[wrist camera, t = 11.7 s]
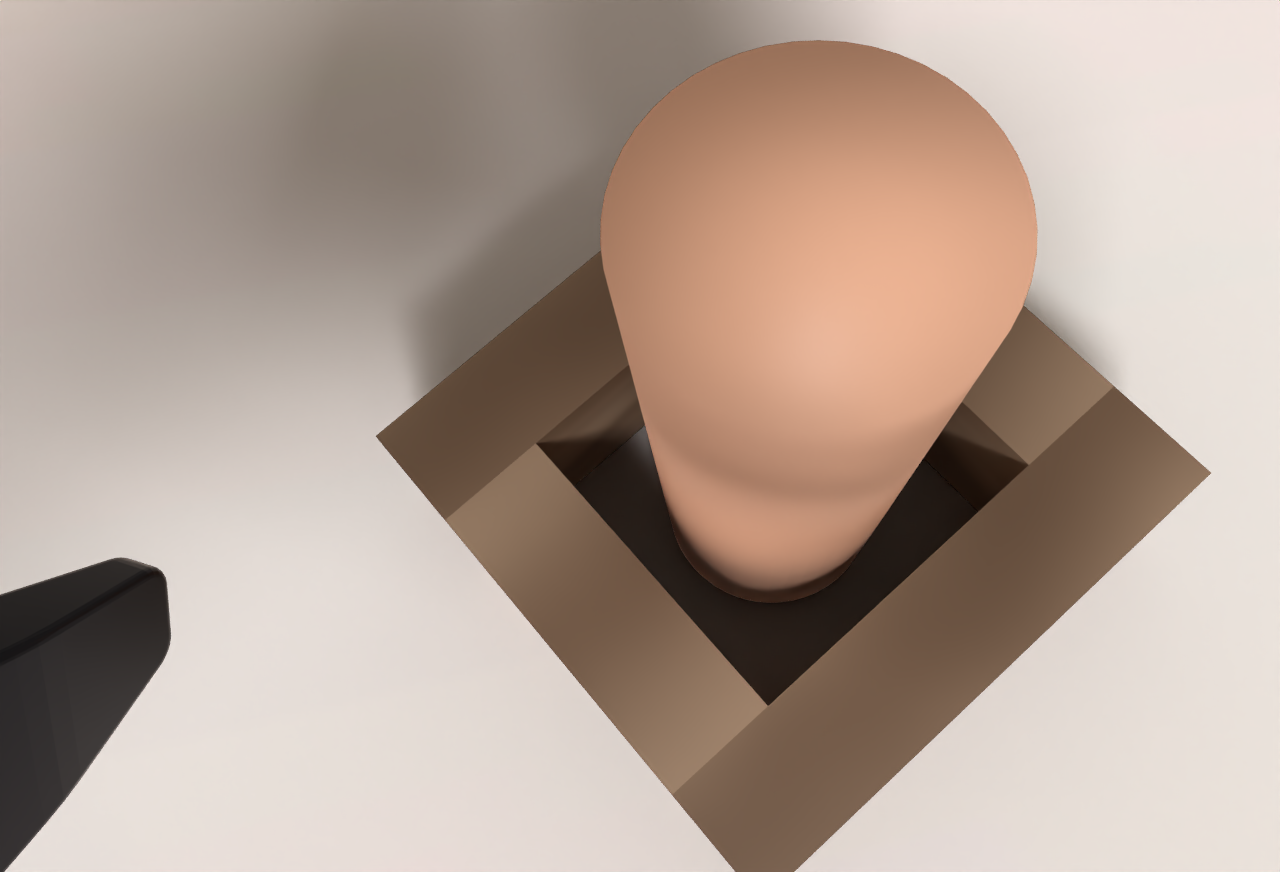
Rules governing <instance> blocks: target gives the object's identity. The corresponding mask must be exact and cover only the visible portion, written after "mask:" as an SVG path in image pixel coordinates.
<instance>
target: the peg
mask: <svg viewBox="0 0 1280 872" xmlns="http://www.w3.org/2000/svg"><path fill="white" fill-rule="evenodd" d="M600 246H601V254H602V262H603V269H604V273H605V277H606V280H607V284H608V288H609V292H610V295H611V299H612V303H613V307H614V310H615V314H616V318H617V322H618V325H619V329H620V333H621V337H622V340H623V344H624V348H625V352H626V355H627V359H628V363H629V367H630V370H631V374H632V378H633V382H634V385H635V389H636V393H637V397H638V400H639V404H640V408H641V412H642V415H643V419H644V423H645V427H646V430H647V434H648V438H649V442H650V445H651V449H652V453H653V456H654V460H655V464H656V468H657V471H658V475H659V479H660V483H661V486H662V490H663V494H664V498H665V501H666V505H667V509H668V513H669V516H670V520H671V524H672V527H673V531H674V535H675V537H676V540H677V542H678V544H679V547H680V548H681V550H682V552H683V554H684V555H685V557H686V559H687V560H688V561H689V562H690V564H691V565H692V566H693V567H694V569H695V570H696V571H697V572H698V573H699V574H700V575H701V576H703V577H704V578H705V579H706V580H707V581H709V582H710V583H711V584H713V585H714V586H716V587H717V588H719V589H721V590H723V591H724V592H726V593H729V594H731V595H734V596H736V597H739V598H742V599H746V600H750V601H756V602H764V603H780V602H787V601H794V600H797V599H801V598H804V597H807V596H809V595H812V594H814V593H816V592H819V591H820V590H822V589H824V588H825V587H827V586H829V585H830V584H831V583H833V582H834V581H835V580H836V579H838V578H839V577H840V576H841V575H842V574H843V573H844V572H845V571H846V570H847V569H848V568H849V566H850V565H851V563H852V562H853V561H854V559H855V558H856V557H857V555H858V554H859V552H860V551H861V549H862V548H863V546H864V545H865V543H866V542H867V540H868V539H869V537H870V536H871V534H872V533H873V532H874V530H875V529H876V527H877V526H878V524H879V523H880V521H881V520H882V518H883V517H884V515H885V514H886V512H887V511H888V509H889V508H890V507H891V505H892V504H893V502H894V501H895V499H896V498H897V496H898V495H899V493H900V492H901V490H902V489H903V487H904V486H905V484H906V483H907V481H908V480H909V479H910V477H911V476H912V474H913V473H914V471H915V470H916V468H917V467H918V465H919V464H920V462H921V461H922V459H923V458H924V456H925V455H926V454H927V452H928V451H929V449H930V448H931V446H932V445H933V443H934V442H935V440H936V439H937V437H938V436H939V434H940V433H941V431H942V430H943V429H944V427H945V426H946V424H947V423H948V421H949V420H950V418H951V417H952V415H953V414H954V412H955V411H956V409H957V408H958V406H959V405H960V404H961V402H962V401H963V399H964V398H965V396H966V395H967V393H968V392H969V390H970V389H971V387H972V386H973V384H974V383H975V381H976V380H977V378H978V377H979V376H980V374H981V373H982V371H983V370H984V368H985V367H986V365H987V364H988V362H989V361H990V359H991V358H992V356H993V355H994V353H995V352H996V351H997V349H998V348H999V346H1000V345H1001V343H1002V342H1003V340H1004V339H1005V337H1006V336H1007V334H1008V333H1009V331H1010V330H1011V328H1012V326H1013V324H1014V322H1015V320H1016V318H1017V316H1018V315H1019V313H1020V311H1021V309H1022V307H1023V305H1024V302H1025V299H1026V296H1027V293H1028V290H1029V287H1030V284H1031V281H1032V277H1033V271H1034V266H1035V260H1036V255H1037V221H1036V213H1035V204H1034V200H1033V196H1032V192H1031V189H1030V185H1029V181H1028V178H1027V175H1026V173H1025V171H1024V169H1023V166H1022V164H1021V162H1020V159H1019V157H1018V155H1017V153H1016V151H1015V150H1014V148H1013V146H1012V145H1011V143H1010V141H1009V140H1008V138H1007V136H1006V135H1005V133H1004V132H1003V130H1002V129H1001V128H1000V127H999V125H998V124H997V123H996V122H995V121H994V119H993V118H992V117H991V116H990V114H989V113H988V112H987V111H986V110H985V109H984V108H983V107H982V106H981V105H980V104H979V103H978V102H977V101H976V100H974V99H973V98H972V97H971V96H970V95H969V94H968V93H967V92H965V91H964V90H963V89H961V88H960V87H959V86H957V85H956V84H955V83H953V82H952V81H951V80H949V79H948V78H946V77H945V76H943V75H941V74H939V73H938V72H936V71H934V70H932V69H930V68H929V67H927V66H925V65H923V64H921V63H919V62H916V61H914V60H911V59H909V58H907V57H904V56H902V55H899V54H896V53H893V52H890V51H886V50H883V49H879V48H876V47H872V46H866V45H861V44H855V43H849V42H838V41H821V40H816V41H797V42H787V43H781V44H775V45H769V46H764V47H760V48H757V49H753V50H750V51H746V52H742V53H739V54H737V55H734V56H732V57H729V58H727V59H724V60H722V61H719V62H717V63H715V64H713V65H711V66H709V67H707V68H706V69H704V70H702V71H700V72H698V73H696V74H695V75H693V76H691V77H690V78H688V79H687V80H686V81H684V82H683V83H681V84H680V85H679V86H677V87H676V88H674V89H673V90H672V91H671V92H669V93H668V94H667V95H666V96H665V97H664V98H663V99H662V100H661V101H660V102H658V103H657V104H656V105H655V106H654V107H653V108H652V109H651V110H650V112H649V113H648V114H647V115H646V116H645V117H644V119H643V120H642V121H641V122H640V123H639V124H638V126H637V127H636V128H635V130H634V131H633V133H632V134H631V136H630V138H629V139H628V141H627V142H626V144H625V145H624V147H623V149H622V151H621V153H620V155H619V157H618V159H617V161H616V163H615V166H614V168H613V170H612V172H611V176H610V179H609V182H608V185H607V189H606V192H605V195H604V202H603V208H602V214H601V230H600Z"/></svg>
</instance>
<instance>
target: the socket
mask: <svg viewBox="0 0 1280 872" xmlns="http://www.w3.org/2000/svg"><path fill="white" fill-rule="evenodd" d="M643 426H645V423H644V419H643V415H642V412H641V408H640V404H639V400H638V397H637V393H636V389H635V385H634V382H633V378H632V374H631V370H630V367H629V363H628V359H627V355H626V352H625V348H624V344H623V340H622V337H621V333H620V329H619V325H618V322H617V318H616V314H615V310H614V307H613V303H612V299H611V295H610V292H609V288H608V284H607V280H606V277H605V273H604V269H603V262H602V254H601V251H600V252H599V253H597V254H596V255H595V256H594V257H592V258H591V259H590V260H589V261H588V262H586V263H585V264H584V265H583V266H582V267H580V268H579V269H578V270H577V271H575V272H574V273H573V274H572V275H571V276H569V277H568V278H567V279H566V280H565V281H563V282H562V283H561V284H560V285H558V286H557V287H556V288H555V289H554V290H552V291H551V292H550V293H549V294H548V295H546V296H545V297H544V298H543V299H541V300H540V301H539V302H538V303H537V304H535V305H534V306H533V307H532V308H531V309H529V310H528V311H527V312H526V313H525V314H523V315H522V316H521V317H520V318H518V319H517V320H516V321H515V322H514V323H512V324H511V325H510V326H509V327H508V328H506V329H505V330H504V331H503V332H501V333H500V334H499V335H498V336H497V337H495V338H494V339H493V340H492V341H491V342H489V343H488V344H487V345H486V346H484V347H483V348H482V349H481V350H480V351H478V352H477V353H476V354H475V355H474V356H472V357H471V358H470V359H469V360H468V361H466V362H465V363H464V364H463V365H461V366H460V367H459V368H458V369H457V370H455V371H454V372H453V373H452V374H451V375H449V376H448V377H447V378H446V379H444V380H443V381H442V382H441V383H440V384H438V385H437V386H436V387H435V388H434V389H432V390H431V391H430V392H429V393H427V394H426V395H425V396H424V397H423V398H421V399H420V400H419V401H418V402H417V403H415V404H414V405H413V406H412V407H410V408H409V409H408V410H407V411H406V412H404V413H403V414H402V415H401V416H400V417H398V418H397V419H396V420H395V421H394V422H392V423H391V424H390V425H389V426H387V427H386V428H385V429H384V430H383V431H381V432H380V433H379V434H378V435H377V436H376V437H377V438H378V440H379V441H380V442H381V443H382V444H383V446H384V447H385V448H386V449H387V451H388V452H389V453H390V454H391V455H392V457H393V458H394V459H395V460H396V461H397V463H398V464H399V465H400V466H401V467H402V469H403V470H404V471H405V472H406V474H407V475H408V476H409V477H410V478H411V480H412V481H413V482H414V483H415V484H416V486H417V487H418V488H419V489H420V490H421V492H422V493H423V494H424V495H425V497H426V498H427V499H428V500H429V501H430V503H431V504H432V505H433V506H434V507H435V509H436V510H437V511H438V512H439V513H440V515H441V516H442V517H443V518H444V520H445V521H446V522H447V523H448V524H449V526H450V527H451V528H452V529H453V530H454V532H455V533H456V534H457V535H458V536H459V538H460V539H461V540H462V541H463V543H464V544H465V545H466V546H467V547H468V549H469V550H470V551H471V552H472V553H473V555H474V556H475V557H476V558H477V559H478V561H479V562H480V563H481V564H482V565H483V567H484V568H485V569H486V570H487V572H488V573H489V574H490V575H491V576H492V578H493V579H494V580H495V581H496V582H497V584H498V585H499V586H500V587H501V588H502V590H503V591H504V592H505V593H506V595H507V596H508V597H509V598H510V599H511V601H512V602H513V603H514V604H515V605H516V607H517V608H518V609H519V610H520V611H521V613H522V614H523V615H524V616H525V618H526V619H527V620H528V621H529V622H530V624H531V625H532V626H533V627H534V628H535V630H536V631H537V632H538V633H539V634H540V636H541V637H542V638H543V639H544V641H545V642H546V643H547V644H548V645H549V647H550V648H551V649H552V650H553V651H554V653H555V654H556V655H557V656H558V657H559V659H560V660H561V661H562V662H563V664H564V665H565V666H566V667H567V668H568V670H569V671H570V672H571V673H572V674H573V676H574V677H575V678H576V679H577V680H578V682H579V683H580V684H581V685H582V687H583V688H584V689H585V690H586V691H587V693H588V694H589V695H590V696H591V697H592V699H593V700H594V701H595V702H596V703H597V705H598V706H599V707H600V708H601V709H602V711H603V712H604V713H605V714H606V716H607V717H608V718H609V719H610V720H611V722H612V723H613V724H614V725H615V726H616V728H617V729H618V730H619V731H620V732H621V734H622V735H623V736H624V737H625V739H626V740H627V741H628V742H629V743H630V745H631V746H632V747H633V748H634V749H635V751H636V752H637V753H638V754H639V755H640V757H641V758H642V759H643V760H644V762H645V763H646V764H647V765H648V766H649V768H650V769H651V770H652V771H653V772H654V774H655V775H656V776H657V777H658V778H659V780H660V781H661V782H662V783H663V785H664V786H665V787H666V788H667V789H668V791H669V792H670V793H671V794H672V795H673V797H674V798H675V799H676V800H677V801H678V803H679V804H680V805H681V806H682V808H683V809H684V810H685V811H686V812H687V814H688V815H689V816H690V817H691V818H692V820H693V821H694V822H695V823H696V824H697V826H698V827H699V828H700V829H701V831H702V832H703V833H704V834H705V835H706V837H707V838H708V839H709V840H710V841H711V843H712V844H713V845H714V846H715V847H716V849H717V850H718V851H719V852H720V854H721V855H722V856H723V857H724V858H725V860H726V861H727V862H728V863H729V864H730V866H731V867H732V868H733V869H734V870H735V872H794V871H796V870H797V869H798V868H799V867H800V866H801V865H802V864H803V863H804V862H805V861H806V860H807V859H808V858H809V857H810V856H811V855H812V854H813V853H814V852H815V851H816V850H817V849H819V848H820V847H821V846H822V845H823V844H824V843H825V842H826V841H827V840H828V839H829V838H830V837H831V836H832V835H833V834H834V833H835V832H836V831H837V830H838V829H839V828H840V827H842V826H843V825H844V824H845V823H846V822H847V821H848V820H849V819H850V818H851V817H852V816H853V815H854V814H855V813H856V812H857V811H858V810H859V809H860V808H861V807H862V806H863V805H865V804H866V803H867V802H868V801H869V800H870V799H871V798H872V797H873V796H874V795H875V794H876V793H877V792H878V791H879V790H880V789H881V788H882V787H883V786H884V785H885V784H886V783H888V782H889V781H890V780H891V779H892V778H893V777H894V776H895V775H896V774H897V773H898V772H899V771H900V770H901V769H902V768H903V767H904V766H905V765H906V764H907V763H908V762H909V761H911V760H912V759H913V758H914V757H915V756H916V755H917V754H918V753H919V752H920V751H921V750H922V749H923V748H924V747H925V746H926V745H927V744H928V743H929V742H930V741H931V740H932V739H934V738H935V737H936V736H937V735H938V734H939V733H940V732H941V731H942V730H943V729H944V728H945V727H946V726H947V725H948V724H949V723H950V722H951V721H952V720H953V719H954V718H956V717H957V716H958V715H959V714H960V713H961V712H962V711H963V710H964V709H965V708H966V707H967V706H968V705H969V704H970V703H971V702H972V701H973V700H974V699H975V698H976V697H977V696H979V695H980V694H981V693H982V692H983V691H984V690H985V689H986V688H987V687H988V686H989V685H990V684H991V683H992V682H993V681H994V680H995V679H996V678H997V677H998V676H999V675H1000V674H1002V673H1003V672H1004V671H1005V670H1006V669H1007V668H1008V667H1009V666H1010V665H1011V664H1012V663H1013V662H1014V661H1015V660H1016V659H1017V658H1018V657H1019V656H1020V655H1021V654H1022V653H1023V652H1025V651H1026V650H1027V649H1028V648H1029V647H1030V646H1031V645H1032V644H1033V643H1034V642H1035V641H1036V640H1037V639H1038V638H1039V637H1040V636H1041V635H1042V634H1043V633H1044V632H1045V631H1046V630H1048V629H1049V628H1050V627H1051V626H1052V625H1053V624H1054V623H1055V622H1056V621H1057V620H1058V619H1059V618H1060V617H1061V616H1062V615H1063V614H1064V613H1065V612H1066V611H1067V610H1068V609H1069V608H1071V607H1072V606H1073V605H1074V604H1075V603H1076V602H1077V601H1078V600H1079V599H1080V598H1081V597H1082V596H1083V595H1084V594H1085V593H1086V592H1087V591H1088V590H1089V589H1090V588H1091V587H1092V586H1094V585H1095V584H1096V583H1097V582H1098V581H1099V580H1100V579H1101V578H1102V577H1103V576H1104V575H1105V574H1106V573H1107V572H1108V571H1109V570H1110V569H1111V568H1112V567H1113V566H1114V565H1116V564H1117V563H1118V562H1119V561H1120V560H1121V559H1122V558H1123V557H1124V556H1125V555H1126V554H1127V553H1128V552H1129V551H1130V550H1131V549H1132V548H1133V547H1134V546H1135V545H1136V544H1137V543H1139V542H1140V541H1141V540H1142V539H1143V538H1144V537H1145V536H1146V535H1147V534H1148V533H1149V532H1150V531H1151V530H1152V529H1153V528H1154V527H1155V526H1156V525H1157V524H1158V523H1159V522H1160V521H1162V520H1163V519H1164V518H1165V517H1166V516H1167V515H1168V514H1169V513H1170V512H1171V511H1172V510H1173V509H1174V508H1175V507H1176V506H1177V505H1178V504H1179V503H1180V502H1181V501H1182V500H1183V499H1185V498H1186V497H1187V496H1188V495H1189V494H1190V493H1191V492H1192V491H1193V490H1194V489H1195V488H1196V487H1197V486H1198V485H1199V484H1200V483H1201V482H1202V481H1203V480H1204V479H1205V478H1206V477H1208V476H1209V475H1210V474H1211V472H1210V471H1208V470H1207V469H1206V468H1205V467H1204V466H1203V465H1202V464H1201V463H1199V462H1198V461H1197V460H1196V459H1195V458H1194V457H1193V456H1192V455H1190V454H1189V453H1188V452H1187V451H1186V450H1185V449H1184V448H1183V447H1182V446H1180V445H1179V444H1178V443H1177V442H1176V441H1175V440H1174V439H1173V438H1171V437H1170V436H1169V435H1168V434H1167V433H1166V432H1165V431H1164V430H1162V429H1161V428H1160V427H1159V426H1158V425H1157V424H1156V423H1155V422H1153V421H1152V420H1151V419H1150V418H1149V417H1148V416H1147V415H1146V414H1145V413H1143V412H1142V411H1141V410H1140V409H1139V408H1138V407H1137V406H1136V405H1134V404H1133V403H1132V402H1131V401H1130V400H1129V399H1128V398H1127V397H1125V396H1124V395H1123V394H1122V393H1121V392H1120V391H1119V390H1118V389H1116V388H1115V387H1114V386H1113V385H1112V384H1111V383H1110V382H1109V381H1108V380H1106V379H1105V378H1104V377H1103V376H1102V375H1101V374H1100V373H1099V372H1097V371H1096V370H1095V369H1094V368H1093V367H1092V366H1091V365H1090V364H1088V363H1087V362H1086V361H1085V360H1084V359H1083V358H1082V357H1081V356H1079V355H1078V354H1077V353H1076V352H1075V351H1074V350H1073V349H1072V348H1070V347H1069V346H1068V345H1067V344H1066V343H1065V342H1064V341H1063V340H1062V339H1060V338H1059V337H1058V336H1057V335H1056V334H1055V333H1054V332H1053V331H1051V330H1050V329H1049V328H1048V327H1047V326H1046V325H1045V324H1044V323H1042V322H1041V321H1040V320H1039V319H1038V318H1037V317H1036V316H1035V315H1033V314H1032V313H1031V312H1030V311H1029V310H1028V309H1027V308H1026V307H1025V306H1023V307H1022V309H1021V311H1020V313H1019V315H1018V316H1017V318H1016V320H1015V322H1014V324H1013V326H1012V328H1011V330H1010V331H1009V333H1008V334H1007V336H1006V337H1005V339H1004V340H1003V342H1002V343H1001V345H1000V346H999V348H998V349H997V351H996V352H995V353H994V355H993V356H992V358H991V359H990V361H989V362H988V364H987V365H986V367H985V368H984V370H983V371H982V373H981V374H980V376H979V377H978V378H977V380H976V381H975V383H974V384H973V386H972V387H971V389H970V390H969V392H968V393H967V395H966V396H965V398H964V399H963V401H962V402H961V404H960V405H959V406H958V408H957V409H956V411H955V412H954V414H953V415H952V417H951V418H950V420H949V421H948V423H947V424H946V426H945V427H944V429H943V430H942V431H941V433H940V434H939V436H938V437H937V439H936V440H935V442H934V443H933V445H932V446H931V448H930V449H929V451H928V452H927V454H926V455H925V456H924V459H925V460H926V461H927V462H928V463H929V464H930V465H931V466H932V467H933V468H934V469H935V470H936V471H937V472H938V473H939V474H940V475H941V476H943V477H944V478H945V479H946V480H947V481H948V482H949V483H950V484H951V485H952V486H953V487H954V488H955V489H956V490H957V491H958V492H959V493H960V494H961V495H962V496H963V497H964V498H965V499H966V500H967V501H968V502H969V503H970V504H971V505H972V506H973V507H974V508H975V509H976V510H977V511H978V513H976V514H975V515H974V516H973V517H972V518H971V519H970V520H969V521H968V522H967V523H966V524H965V525H963V526H962V527H961V528H960V529H959V530H958V531H957V532H956V533H955V534H954V535H953V536H952V537H950V538H949V539H948V540H947V541H946V542H945V543H944V544H943V545H942V546H941V547H940V548H939V549H938V550H936V551H935V552H934V553H933V554H932V555H931V556H930V557H929V558H928V559H927V560H926V561H925V562H923V563H922V564H921V565H920V566H919V567H918V568H917V569H916V570H915V571H914V572H913V573H912V574H910V575H909V576H908V577H907V578H906V579H905V580H904V581H903V582H902V583H901V584H900V585H899V586H897V587H896V588H895V589H894V590H893V591H892V592H891V593H890V594H889V595H888V596H887V597H886V598H884V599H883V600H882V601H881V602H880V603H879V604H878V605H877V606H876V607H875V608H874V609H873V610H872V611H870V612H869V613H868V614H867V615H866V616H865V617H864V618H863V619H862V620H861V621H860V622H859V623H857V624H856V625H855V626H854V627H853V628H852V629H851V630H850V631H849V632H848V633H847V634H846V635H844V636H843V637H842V638H841V639H840V640H839V641H838V642H837V643H836V644H835V645H834V646H833V647H831V648H830V649H829V650H828V651H827V652H826V653H825V654H824V655H823V656H822V657H821V658H820V659H818V660H817V661H816V662H815V663H814V664H813V665H812V666H811V667H810V668H809V669H808V670H807V671H805V672H804V673H803V674H802V675H801V676H800V677H799V678H798V679H797V680H796V681H795V682H794V683H793V684H791V685H790V686H789V687H788V688H787V689H786V690H785V691H784V692H783V693H782V694H781V695H780V696H778V697H777V698H776V699H775V700H774V701H773V702H772V703H771V704H770V705H769V706H767V704H766V703H765V702H764V701H763V700H762V699H761V698H760V696H759V695H758V694H757V693H756V692H755V691H754V690H753V689H752V687H751V686H750V685H749V684H748V683H747V682H746V681H745V679H744V678H743V677H742V676H741V675H740V674H739V673H738V672H737V670H736V669H735V668H734V667H733V666H732V665H731V664H730V663H729V661H728V660H727V659H726V658H725V657H724V656H723V655H722V653H721V652H720V651H719V650H718V649H717V648H716V647H715V646H714V644H713V643H712V642H711V641H710V640H709V639H708V638H707V636H706V635H705V634H704V633H703V632H702V631H701V630H700V629H699V627H698V626H697V625H696V624H695V623H694V622H693V621H692V620H691V618H690V617H689V616H688V615H687V614H686V613H685V612H684V610H683V609H682V608H681V607H680V606H679V605H678V604H677V603H676V601H675V600H674V599H673V598H672V597H671V596H670V595H669V593H668V592H667V591H666V590H665V589H664V588H663V587H662V586H661V584H660V583H659V582H658V581H657V580H656V579H655V578H654V576H653V575H652V574H651V573H650V572H649V571H648V570H647V569H646V567H645V566H644V565H643V564H642V563H641V562H640V561H639V560H638V558H637V557H636V556H635V555H634V554H633V553H632V552H631V550H630V549H629V548H628V547H627V546H626V545H625V544H624V543H623V541H622V540H621V539H620V538H619V537H618V536H617V535H616V533H615V532H614V531H613V530H612V529H611V528H610V527H609V526H608V524H607V523H606V522H605V521H604V520H603V519H602V518H601V517H600V515H599V514H598V513H597V512H596V511H595V510H594V509H593V507H592V506H591V505H590V504H589V503H588V502H587V501H586V500H585V498H584V497H583V496H582V495H581V494H580V493H579V492H578V490H577V489H576V488H575V487H574V486H575V485H576V484H577V483H578V482H579V481H581V480H582V479H583V478H584V477H585V476H586V475H588V474H589V473H590V472H591V471H592V470H593V469H595V468H596V467H597V466H598V465H599V464H600V463H602V462H603V461H604V460H605V459H606V458H607V457H609V456H610V455H611V454H612V453H613V452H614V451H616V450H617V449H618V448H619V447H620V446H621V445H623V444H624V443H625V442H626V441H627V440H628V439H629V438H631V437H632V436H633V435H634V434H635V433H636V432H638V431H639V430H640V429H641V428H642V427H643Z"/></svg>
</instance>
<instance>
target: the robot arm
mask: <svg viewBox="0 0 1280 872" xmlns="http://www.w3.org/2000/svg"><path fill="white" fill-rule="evenodd" d="M170 640H171V628H170V616H169V603H168V591H167V581H166V577H165V576H164V574H163V572H162V571H161V570H159V569H158V568H156V567H153V566H150V565H147V564H144V563H141V562H138V561H135V560H132V559H128V558H114V559H110V560H107V561H104V562H100V563H97V564H94V565H91V566H88V567H85V568H82V569H79V570H76V571H72V572H69V573H66V574H63V575H60V576H57V577H54V578H51V579H48V580H45V581H41V582H38V583H35V584H32V585H29V586H26V587H23V588H20V589H17V590H13V591H10V592H7V593H4V594H1V595H0V872H4V871H5V870H6V869H7V868H8V867H9V866H10V864H11V863H12V862H13V861H14V860H15V859H16V857H17V856H18V855H19V854H20V853H21V852H22V850H23V849H24V848H25V847H26V846H27V845H28V843H29V842H30V841H31V840H32V839H33V838H34V836H35V835H36V834H37V833H38V832H39V831H40V829H41V828H42V827H43V826H44V825H45V824H46V822H47V821H48V820H49V819H50V818H51V816H52V815H53V814H54V813H55V812H56V810H57V809H58V808H59V807H60V805H61V804H62V803H63V802H64V801H65V799H66V798H67V797H68V795H69V794H70V793H71V791H72V790H73V789H74V787H75V786H76V785H77V783H78V782H79V781H80V779H81V778H82V776H83V775H84V774H85V772H86V771H87V769H88V768H89V766H90V765H91V764H92V762H93V761H94V759H95V758H96V756H97V755H98V754H99V752H100V751H101V749H102V748H103V746H104V745H105V744H106V742H107V741H108V739H109V738H110V737H111V735H112V734H113V732H114V731H115V729H116V728H117V727H118V725H119V724H120V722H121V721H122V719H123V718H124V717H125V715H126V714H127V712H128V711H129V709H130V708H131V707H132V705H133V704H134V702H135V701H136V699H137V698H138V697H139V695H140V694H141V692H142V691H143V689H144V688H145V687H146V685H147V684H148V682H149V681H150V679H151V678H152V677H153V675H154V674H155V672H156V671H157V670H158V668H159V667H160V665H161V664H162V662H163V660H164V658H165V656H166V654H167V652H168V649H169V646H170Z"/></svg>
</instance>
